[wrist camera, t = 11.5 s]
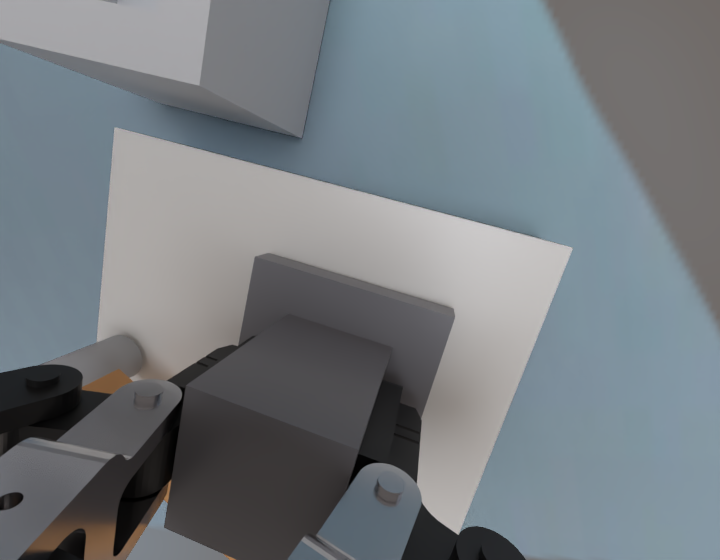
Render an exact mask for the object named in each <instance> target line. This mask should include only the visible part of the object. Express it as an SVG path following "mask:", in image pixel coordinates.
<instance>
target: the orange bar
mask: <svg viewBox="0 0 720 560" xmlns="http://www.w3.org/2000/svg"><path fill="white" fill-rule="evenodd" d="M48 364H57V365H66V366H70V367H73V368H76V369H78V370H79V371H80V372H81V373H82V375H83V382H82V390H86V391H94V392H101V393H109V394H113V393H114V392H115V391H117V390H118V389H119V388H121V387H122V386H124V385H126V384H128V383H131V382H133V381H132V380H131V379H130V377H132V376H134V375H136V374H137V373H138V372H139V371H140V369H141V367H142V354H141V351H140V349H139V347H138V346H137V344H136V343H135V342H134V341H133V340H132V339H130V338H128V337H126V336H124V335H115V336H112V337H110V338H107V339H104V340H102V341H99V342H97V343H94V344H92V345H89V346H87V347H84V348H81V349H79V350H76V351H74V352H71V353H69V354H66V355H64V356H61V357H58V358H56V359H53V360H51V361H48V362H46V363H43V364H41V365H48ZM170 486H171V480H170V481H169V485H168V491H167V494H166V496H165V498H164V500H165V501H166V502H167V503H168V499H169V492H170ZM224 555H225V554H224ZM225 556H226V557H227V558H228V559H229V560H236V559H234V558H232V557H229V556H227V555H225Z"/></svg>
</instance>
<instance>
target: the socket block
mask: <svg viewBox="0 0 720 560" xmlns="http://www.w3.org/2000/svg"><path fill="white" fill-rule="evenodd" d="M572 249H573V248H572V247H568V246H565V245H561V244H558V243H555V242H551V241H548V240H544V239H541V238H537V237H533V236H530V235H526V234H522V233H518V232H514V231H511V230H507V229H503V228H499V227H495V226H492V225H488V224H484V223H480V222H476V221H473V220H469V219H465V218H461V217H457V216H454V215H450V214H446V213H442V212H438V211H435V210H431V209H427V208H423V207H419V206H416V205H412V204H408V203H404V202H400V201H397V200H393V199H389V198H385V197H381V196H378V195H374V194H370V193H366V192H362V191H359V190H355V189H351V188H347V187H343V186H340V185H336V184H332V183H328V182H324V181H321V180H317V179H313V178H309V177H305V176H302V175H298V174H294V173H290V172H286V171H283V170H279V169H275V168H271V167H267V166H264V165H260V164H256V163H252V162H248V161H245V160H241V159H237V158H233V157H229V156H226V155H222V154H218V153H214V152H210V151H207V150H203V149H199V148H195V147H191V146H188V145H184V144H180V143H176V142H172V141H168V140H164V139H160V138H156V137H152V136H148V135H144V134H140V133H136V132H132V131H128V130H124V129H120V128H116V127H115V129H114V141H113V152H112V164H111V176H110V188H109V200H108V212H107V224H106V236H105V248H104V260H103V272H102V284H101V295H100V307H99V319H98V331H97V342H99V341H102V340H104V339H107V338H110V337H112V336H115V335H124V336H126V337H128V338H130V339H132V340H133V341H134V342H135V343H136V344H137V346H138V347H139V349H140V351H141V354H142V367H141V369H140V371H139V372H138V373H137V374H136V375H134V376H132V377H130V379H131V380H132V381H133V382H134V381H138V380H144V379H159V380H165V381H167V380H168V379H170V378H172V377H173V376H175V375H176V374H178V373H179V372H181V371H183V370H184V369H186V368H187V367H189V366H190V365H192V364H194V363H197V361H198V360H200V359H201V358H203V357H206V355H208V354H209V353H211V352H213V351H214V350H216V349H217V348H221V347H225V346H229V345H236V346H238V344H239V338H240V333H241V328H242V322H243V317H244V311H245V306H246V301H247V295H248V290H249V285H250V279H251V274H252V269H253V263H254V258H255V256H258V255H262V254H266V253H271V254H274V255H278V256H281V257H284V258H288V259H291V260H294V261H298V262H301V263H304V264H308V265H311V266H314V267H317V268H321V269H324V270H327V271H331V272H334V273H337V274H341V275H344V276H347V277H351V278H354V279H357V280H361V281H364V282H367V283H371V284H374V285H377V286H380V287H384V288H387V289H390V290H394V291H397V292H400V293H404V294H407V295H410V296H414V297H417V298H420V299H424V300H427V301H430V302H434V303H437V304H440V305H443V306H447V307H450V308H453V309H454V313H455V319H454V322H453V325H452V328H451V331H450V334H449V337H448V340H447V343H446V346H445V349H444V352H443V355H442V358H441V361H440V364H439V367H438V370H437V373H436V376H435V379H434V382H433V385H432V388H431V391H430V394H429V397H428V400H427V403H426V406H425V409H424V412H423V415H422V417H421V420H422V425H421V434H420V435H421V438H420V451H419V463H418V476H417V486H418V487H419V490H420V492H421V497H422V503H423V505H424V506H425V507H426V509H427V510H428V511H429V512H430V514H431V515H432V516H434V517H435V518H436V519H437V520H438V521H439V522H441V523H442V524H443V525H445V526H446V527H448V528H449V529H451V530H452V531H453V532H455V533H456V534H458V535H459V532H460V530H461V527H462V525H463V522H464V520H465V517H466V515H467V512H468V510H469V507H470V505H471V502H472V499H473V497H474V494H475V492H476V489H477V487H478V484H479V482H480V479H481V477H482V474H483V472H484V469H485V467H486V464H487V462H488V459H489V457H490V454H491V452H492V449H493V447H494V444H495V442H496V439H497V437H498V434H499V432H500V429H501V427H502V424H503V422H504V419H505V417H506V414H507V412H508V409H509V407H510V404H511V402H512V399H513V397H514V394H515V392H516V389H517V387H518V384H519V382H520V379H521V377H522V374H523V372H524V369H525V367H526V364H527V362H528V359H529V357H530V354H531V352H532V349H533V347H534V344H535V342H536V339H537V337H538V334H539V332H540V329H541V327H542V324H543V322H544V319H545V317H546V314H547V312H548V309H549V307H550V304H551V302H552V299H553V297H554V294H555V292H556V289H557V287H558V284H559V282H560V279H561V277H562V274H563V272H564V269H565V267H566V264H567V262H568V259H569V257H570V254H571V252H572Z"/></svg>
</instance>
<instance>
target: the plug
mask: <svg viewBox="0 0 720 560" xmlns="http://www.w3.org/2000/svg"><path fill="white" fill-rule="evenodd" d="M454 319H455V313H454V309H453V308H450V307H447V306H443V305H440V304H437V303H434V302H430V301H427V300H424V299H420V298H417V297H414V296H410V295H407V294H404V293H400V292H397V291H394V290H390V289H387V288H384V287H380V286H377V285H374V284H371V283H367V282H364V281H361V280H357V279H354V278H351V277H347V276H344V275H341V274H337V273H334V272H331V271H327V270H324V269H321V268H317V267H314V266H311V265H308V264H304V263H301V262H298V261H294V260H291V259H288V258H284V257H281V256H278V255H274V254H271V253H266V254H262V255H258V256H255V258H254V263H253V269H252V274H251V279H250V285H249V290H248V295H247V301H246V306H245V311H244V317H243V322H242V328H241V333H240V338H239V344H238V345H240V344H241V343H243V342H244V341H246V340H247V339H249V338H250V337H252V336H256V337H254V338H253V339H251V340H250V341H249V342H247V343H246V344H244V345H243V346H241V347H240V348H239V349H237V350H236V351H234V352H233V353H231V354H230V355H229V356H227V357H226V358H224V359H223V360H221V361H220V362H219V363H217V364H216V365H214V366H213V367H211V368H210V369H209V370H207V371H206V372H204V373H203V374H201V375H200V376H199V377H197V378H196V379H194V380H193V381H191V382H190V383H189V384H187V385H186V388H185V395H184V401H183V408H182V414H181V421H180V427H179V434H178V440H177V447H176V453H175V460H174V466H173V473H172V479H171V486H170V492H169V499H168V505H167V512H166V518H165V525H164V528H166V529H168V530H171V531H173V532H175V533H178V534H180V535H182V536H184V537H187V538H189V539H191V540H193V541H196V542H198V543H200V544H202V545H205V546H207V547H209V548H211V549H214V550H216V551H218V552H221V553H223V554H225V555H227V556H229V557H232V558H234V559H236V560H287V559H288V558H289V556H290V555H291V554H292V552H293V551H294V549H295V548H296V547H297V545H298V544H299V543H300V541H301V540H302V539H303V538H304V537H305V536H306V535H307V534H308V533H311V534H312V535H314V536H316V535H317V534H318V532H319V531H320V529H321V528H322V526H323V525H324V523H325V522H326V520H327V519H328V517H329V516H330V514H331V513H332V512H333V510H334V509H335V507H336V506H337V504H338V503H339V501H340V500H341V498H342V497H343V495H344V494H345V492H346V491H347V489H348V486H349V483H350V480H351V476H352V473H353V469H354V466H355V463H356V459H357V456H358V453H359V450H360V447H361V443H362V440H363V437H364V434H365V431H366V428H367V425H368V422H369V419H370V416H371V413H372V410H373V407H374V404H375V401H376V398H377V395H378V391H379V388H380V385H381V382H382V379H383V380H386V381H389V382H392V383H395V384H398V385H401V386H403V390H402V395H401V400H400V403H402V404H405V405H408V406H410V407H413V408H416V410H417V412H418V414H419V416H420V418H421V417H422V415H423V412H424V409H425V406H426V403H427V400H428V397H429V394H430V391H431V388H432V385H433V382H434V379H435V376H436V373H437V370H438V367H439V364H440V361H441V358H442V355H443V352H444V349H445V346H446V343H447V340H448V337H449V334H450V331H451V328H452V325H453V322H454Z"/></svg>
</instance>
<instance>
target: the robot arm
mask: <svg viewBox="0 0 720 560" xmlns="http://www.w3.org/2000/svg"><path fill="white" fill-rule="evenodd" d="M254 337H256V336H252V337H250V338H249V339H247V340H246V341H244V342H243V343H241V344H240V345H238V346H236V345H229V346H225V347H221V348H217V349H216V350H214V351H213V352H211V353H209V354H208V355H206V357H203V358H201V359H200V360H198V361H197V363H194V364H192V365H190V366H189V367H187V368H186V369H184V370H183V371H181V372H179V373H178V374H176V375H175V376H173V377H172V378H170V379H168V380H167V381H165V380H159V379H144V380H138V381H134V382H131V383H128V384H126V385H124V386H122V387H121V388H119V389H118V390H117V391H115V392H114V393H113V394H109V393H101V392H94V391H86V390H82V382H83V375H82V373H81V372H80V371H79V370H78V369H76V368H73V367H70V366H66V365H57V364H48V365H38V366H32V367H27V368H22V369H17V370H13V371H8V372H3V373H0V560H126V558H127V557H128V555H129V554H130V552H131V551H132V549H133V548H134V546H135V544H136V543H137V541H138V539H139V538H140V536H141V535H142V533H143V532H144V530H145V528H146V527H147V525H148V524H149V522H150V520H151V519H152V517H153V516H154V514H155V513H156V511H157V509H158V508H159V506H160V505H161V503H162V501H163V500H164V498H165V496H166V494H167V491H168V485H169V481H170V480H171V479H172V473H173V466H174V460H175V453H176V447H177V440H178V434H179V427H180V421H181V414H182V408H183V401H184V395H185V388H186V385H187V384H189V383H190V382H191V381H193V380H194V379H196V378H197V377H199V376H200V375H201V374H203V373H204V372H206V371H207V370H209V369H210V368H211V367H213V366H214V365H216V364H217V363H219V362H220V361H221V360H223V359H224V358H226V357H227V356H229V355H230V354H231V353H233V352H234V351H236V350H237V349H239V348H240V347H241V346H243V345H244V344H246V343H247V342H249V341H250V340H251V339H253V338H254ZM402 390H403V386H401V385H398V384H395V383H392V382H389V381H386V380H383V379H382V382H381V385H380V388H379V391H378V395H377V398H376V401H375V404H374V407H373V410H372V413H371V416H370V419H369V422H368V425H367V428H366V431H365V434H364V437H363V440H362V443H361V447H360V450H359V453H358V456H357V459H356V463H355V466H354V469H353V473H352V476H351V480H350V483H349V486H348V489H347V491H346V492H345V494H344V495H343V497H342V498H341V500H340V501H339V503H338V504H337V506H336V507H335V509H334V510H333V512H332V513H331V514H330V516H329V517H328V519H327V520H326V522H325V523H324V525H323V526H322V528H321V529H320V531H319V532H318V534H317V535H316V536H314V535H312V534H311V533H308V534H307V535H306V536H305V537H304V538H303V539H302V540H301V541H300V543H299V544H298V545H297V547H296V548H295V549H294V551H293V552H292V554H291V555H290V556H289V558H288V559H287V560H525V558H524V556H523V555H522V554H521V553H520V552H519V550H518V549H517V548H516V547H515V546H514V545H513V544H512V543H510V542H509V541H508V540H507V539H506V538H504V537H503V536H501V535H500V534H498V533H496V532H494V531H492V530H490V529H487V528H483V527H477V526H475V527H468V528H466V529H464V530H462V531H461V532H460V534H459V535H458V534H456V533H455V532H453V531H452V530H451V529H449V528H448V527H446V526H445V525H443V524H442V523H441V522H439V521H438V520H437V519H436V518H435V517H434V516H432V515H431V514H430V512H429V511H428V510H427V509H426V507H425V506H424V505H423V503H422V497H421V492H420V490H419V487H418V486H417V476H418V463H419V451H420V438H421V435H420V434H421V425H422V420H421V418H420V416H419V414H418V412H417V410H416V408H413V407H410V406H408V405H405V404H402V403H400V400H401V395H402Z"/></svg>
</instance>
